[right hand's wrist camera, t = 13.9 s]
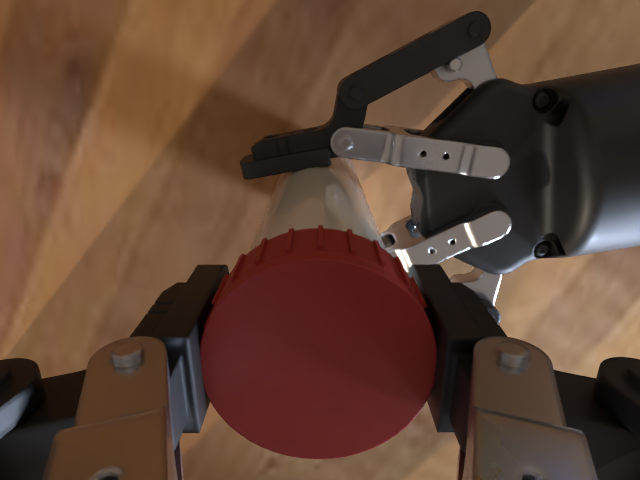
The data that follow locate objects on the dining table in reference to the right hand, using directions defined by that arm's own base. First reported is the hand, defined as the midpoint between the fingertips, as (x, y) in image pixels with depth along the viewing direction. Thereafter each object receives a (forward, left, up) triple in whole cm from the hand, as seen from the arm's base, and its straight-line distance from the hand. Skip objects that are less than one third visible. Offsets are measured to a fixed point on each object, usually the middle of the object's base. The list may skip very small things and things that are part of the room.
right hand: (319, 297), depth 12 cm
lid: (0, 0, +3) cm, 3 cm away
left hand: (-1, +3, -8) cm, 9 cm away
